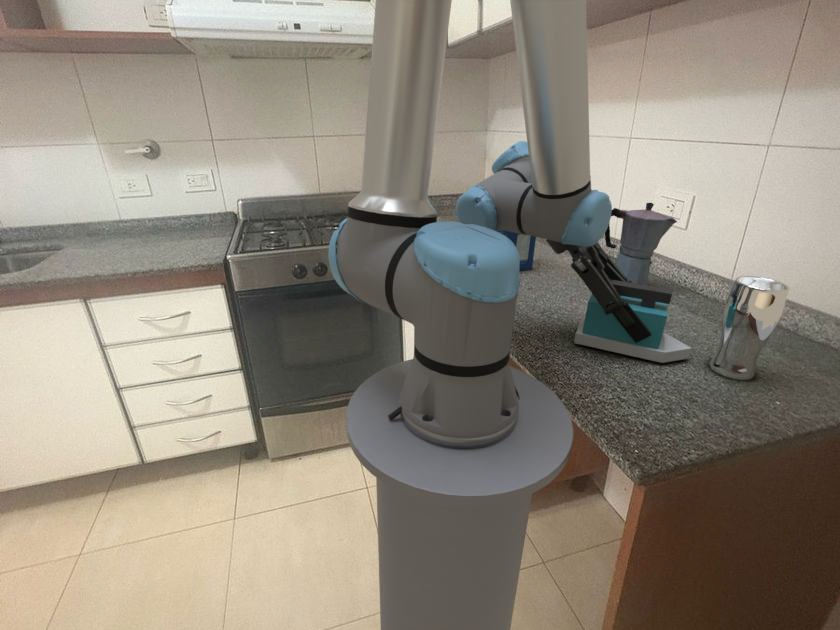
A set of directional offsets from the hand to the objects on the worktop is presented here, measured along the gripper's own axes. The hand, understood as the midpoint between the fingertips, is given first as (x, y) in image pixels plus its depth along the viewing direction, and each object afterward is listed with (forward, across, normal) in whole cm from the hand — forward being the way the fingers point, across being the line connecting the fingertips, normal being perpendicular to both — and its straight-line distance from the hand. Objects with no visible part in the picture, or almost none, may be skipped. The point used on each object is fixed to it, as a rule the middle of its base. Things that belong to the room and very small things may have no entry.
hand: (644, 329), depth 75 cm
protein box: (-23, +34, +29) cm, 50 cm away
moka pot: (-1, +36, +7) cm, 36 cm away
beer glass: (+13, 0, -7) cm, 14 cm away
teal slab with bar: (+1, 0, +4) cm, 4 cm away
